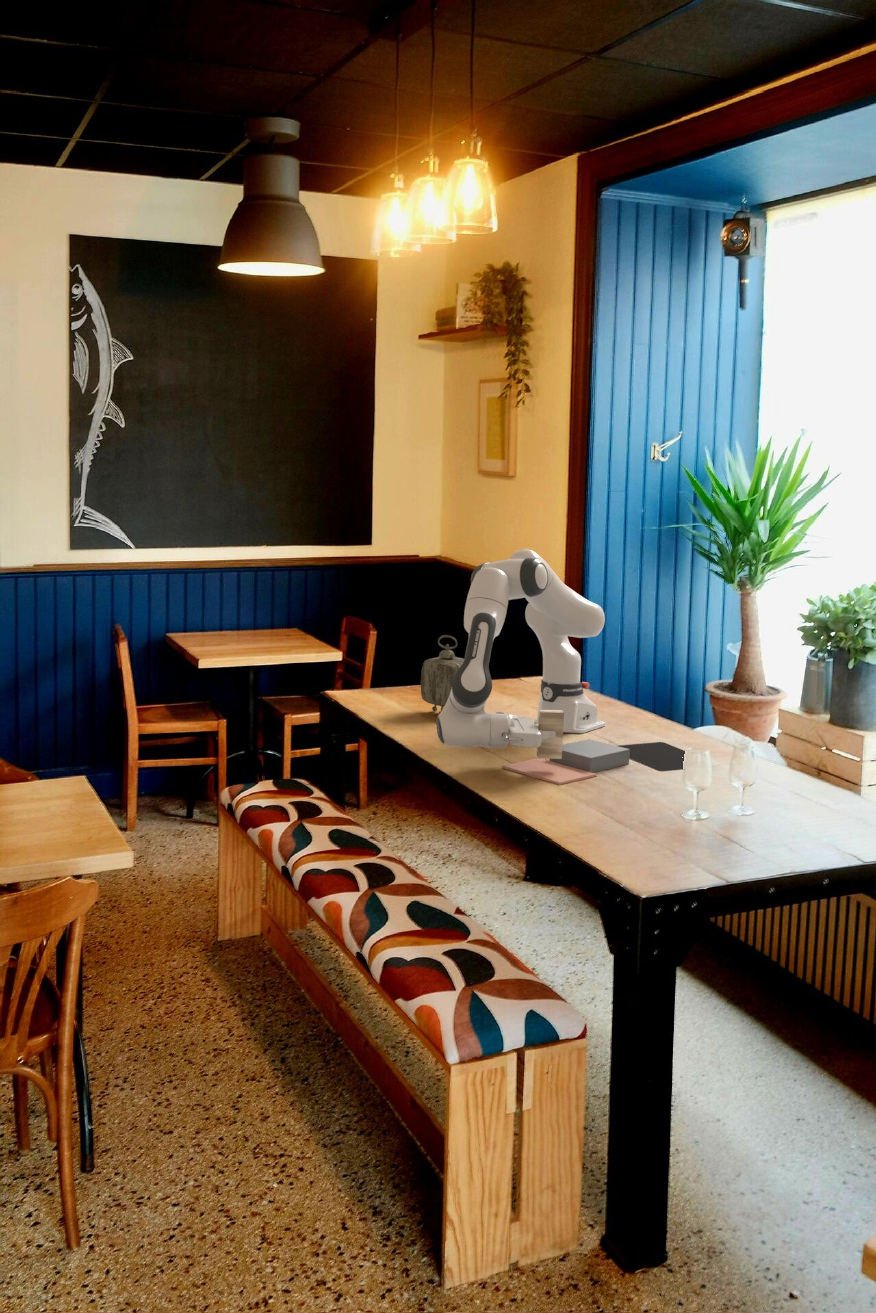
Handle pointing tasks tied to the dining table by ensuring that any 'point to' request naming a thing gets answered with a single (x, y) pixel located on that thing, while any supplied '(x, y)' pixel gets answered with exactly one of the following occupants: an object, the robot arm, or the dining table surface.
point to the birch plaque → (551, 722)
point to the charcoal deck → (593, 755)
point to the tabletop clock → (439, 676)
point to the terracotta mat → (549, 771)
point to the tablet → (657, 755)
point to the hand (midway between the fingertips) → (553, 732)
